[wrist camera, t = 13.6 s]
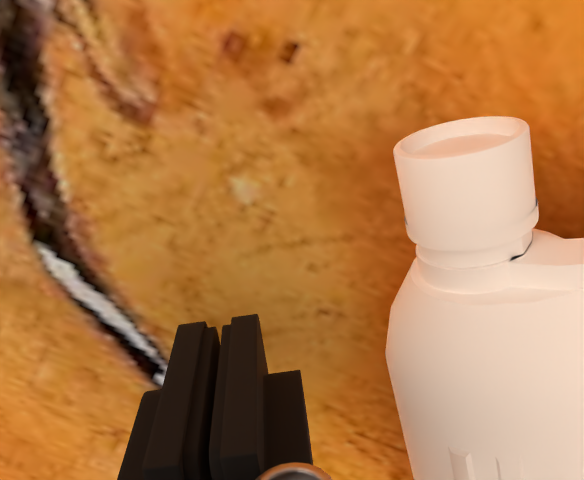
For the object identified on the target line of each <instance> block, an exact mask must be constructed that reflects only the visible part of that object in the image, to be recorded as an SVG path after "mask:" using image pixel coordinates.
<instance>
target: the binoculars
mask: <svg viewBox="0 0 584 480" xmlns="http://www.w3.org/2000/svg"><path fill="white" fill-rule="evenodd" d="M393 154H394V159H395V164H396V169H397V175H398V180H399V185H400V190H401V196H402V201H403V206H404V211H405V219H404V220H405V225H406V230H407V234H408V237H409V238H410V239H411V240H412V241H413V242H414V243H416V244H417V245H416V258H415V259H414V261H413V263H412V265H411V267H410V269H409V271H408V273H407V275H406V277H405V279H404V281H403V283H402V285H401V287H400V289H399V291H398V293H397V295H396V297H395V300H394V302H393V304H392V306H391V310H390V319H389V327H388V335H387V343H386V351H385V356H386V361H387V366H388V370H389V375H390V379H391V383H392V388H393V392H394V396H395V400H396V405H397V409H398V413H399V418H400V422H401V426H402V431H403V435H404V439H405V444H406V448H407V452H408V457H409V461H410V465H411V469H412V474H413V478H414V480H584V238H576V239H563V238H561V237H559V236H557V235H554V234H552V233H550V232H547V231H543V230H539V229H534V228H533V227H535V225H536V223H537V222H538V218H539V211H538V200H537V198H536V196H535V186H534V175H533V164H532V152H531V141H530V129H529V125H528V124H527V123H526V122H525V121H524V120H522V119H519V118H515V117H508V116H484V117H474V118H467V119H461V120H455V121H450V122H446V123H442V124H438V125H435V126H431V127H428V128H425V129H422V130H420V131H417V132H415V133H413V134H410V135H408V136H407V137H405V138H403V139H402V140H400V141H399V142H398V143H397V144H396V145H395V147H394V150H393Z"/></svg>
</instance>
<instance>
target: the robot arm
mask: <svg viewBox="0 0 584 480" xmlns="http://www.w3.org/2000/svg"><path fill="white" fill-rule="evenodd" d="M117 480H332V479H331V477H330V476H329V475H328V474H327V473H325V472H324V471H323V470H322V469H321V468H318V467H316V466H313V460H312V452H311V444H310V436H309V428H308V421H307V413H306V406H305V399H304V392H303V385H302V379H301V372H300V370H295V371H288V372H281V373H273V374H268V368H267V363H266V357H265V351H264V345H263V339H262V334H261V328H260V322H259V317H258V314H253V315H246V316H238V317H232V320H231V324H230V325H223V327H222V336H221V345H220V341H219V336H218V332H217V329H216V327H209V328H208V327H207V324H206V322H205V321H203V322H196V323H189V324H181V325H179V326H178V329H177V332H176V336H175V340H174V344H173V348H172V352H171V356H170V360H169V364H168V367H167V371H166V375H165V379H164V383H163V387H162V389H160V390H153V391H147V392H145V393H144V395H143V397H142V399H141V403H140V406H139V409H138V412H137V416H136V419H135V422H134V426H133V429H132V432H131V436H130V439H129V442H128V445H127V449H126V452H125V455H124V459H123V462H122V465H121V468H120V472H119V475H118V478H117Z"/></svg>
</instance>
